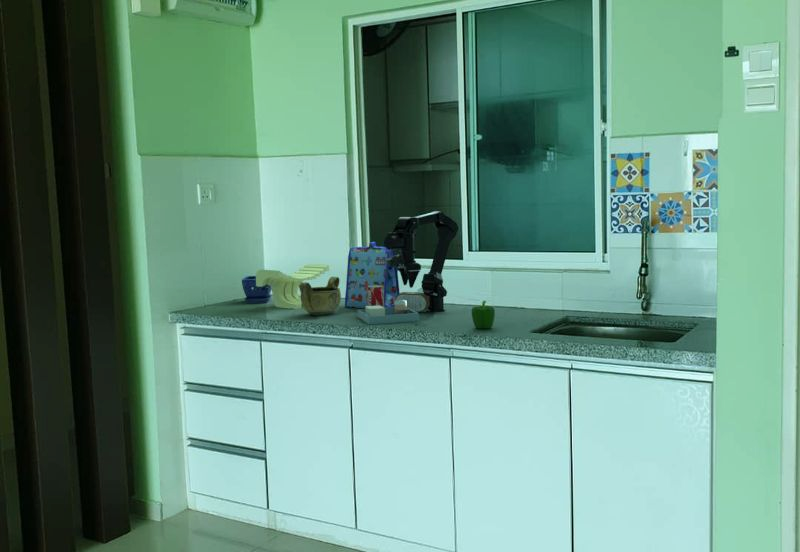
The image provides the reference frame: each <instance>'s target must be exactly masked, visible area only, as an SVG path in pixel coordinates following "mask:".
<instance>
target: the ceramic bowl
mask: <svg viewBox="0 0 800 552" xmlns="http://www.w3.org/2000/svg"><path fill="white" fill-rule="evenodd" d="M339 285H340V278H339V276H330V277H329V279H328V281H327V284H326V286H315V287H314V286H313V287H312V285H311V284H310V283H309V282H304V281H302V282H301V283H300V285H299V287H298V290H299V292H300V298H301V303H302V305H303V308H302V309H304V311H306V312H307V313H308V314H311V315H312V316H321V317H323V316H328V315H330V314H332V313H335V312H336V310H337V309H338V308H339V307H340V304H341V298H342V295H341V294H342V293H341V289H340V287H339Z"/></svg>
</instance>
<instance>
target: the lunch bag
mask: <svg viewBox="0 0 800 552" xmlns="http://www.w3.org/2000/svg"><path fill="white" fill-rule="evenodd" d="M394 255H396V249H392V250H388V249H386V247H385V246H377V245H376V242H375V241H371V242H369V243H368V246H356V247H355V246H354V247H350V248H349V250H348V255H347V269H346V270H347V271H346V281H345V283H346V285H345V297H344V299H345V300H344V307H345V308H352V307H355V308H354V309H365V306H367V289H368V286H371V285H381V286H382V289H383V292H384V308H390V307H394V300H395V298H396V296H397V295H398V294H400V293H401V291H400V284H399V283H400V282H399V275H398V274H399V273H398V272H399V271H398V270H397V269H396V268H398V267H395V266H394V267H389V266H388V263H387V261H386V259H388V258H390V257H393V256H394Z"/></svg>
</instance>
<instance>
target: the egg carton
mask: <svg viewBox="0 0 800 552" xmlns="http://www.w3.org/2000/svg"><path fill="white" fill-rule="evenodd" d="M364 309H365V314H367V315H368V316H382V315H385V308H384V307H382V306H380V305H379V306H365V308H364Z"/></svg>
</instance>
